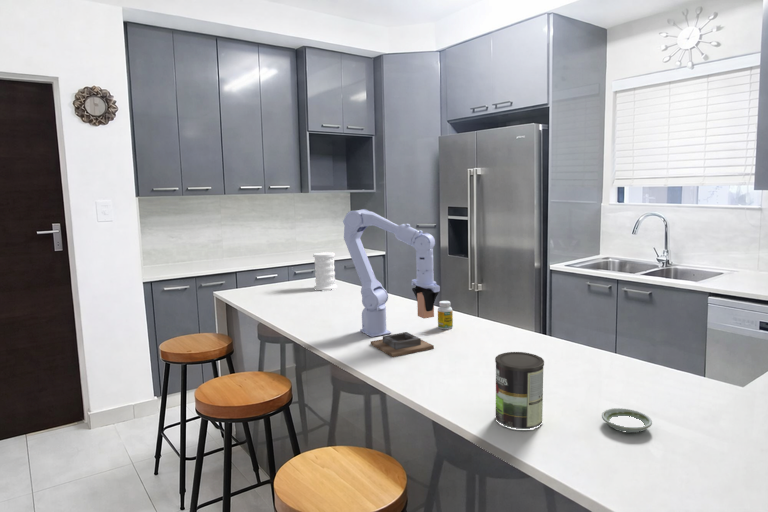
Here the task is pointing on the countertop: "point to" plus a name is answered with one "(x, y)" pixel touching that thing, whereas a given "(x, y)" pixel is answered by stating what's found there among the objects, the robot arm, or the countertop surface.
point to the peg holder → (401, 344)
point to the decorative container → (324, 271)
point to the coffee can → (519, 389)
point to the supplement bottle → (445, 315)
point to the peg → (423, 307)
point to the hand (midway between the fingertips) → (425, 309)
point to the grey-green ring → (626, 412)
